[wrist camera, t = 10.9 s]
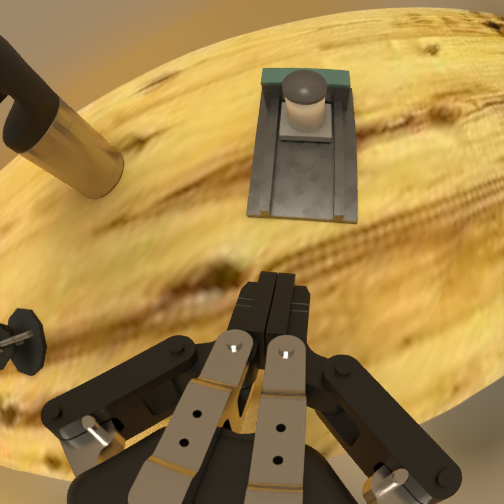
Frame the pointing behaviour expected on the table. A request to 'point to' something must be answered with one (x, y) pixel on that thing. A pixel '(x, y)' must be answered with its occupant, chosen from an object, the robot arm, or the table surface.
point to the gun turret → (23, 342)
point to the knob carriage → (305, 108)
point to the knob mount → (305, 158)
